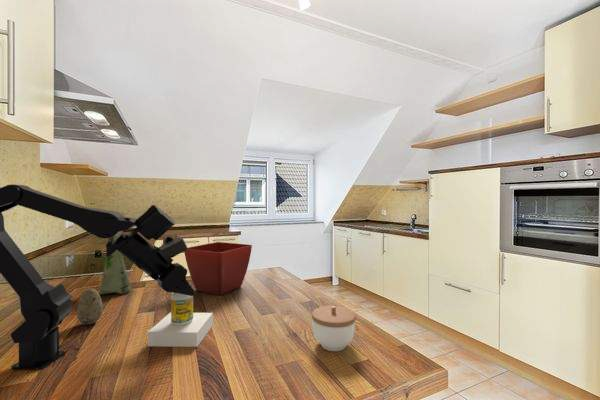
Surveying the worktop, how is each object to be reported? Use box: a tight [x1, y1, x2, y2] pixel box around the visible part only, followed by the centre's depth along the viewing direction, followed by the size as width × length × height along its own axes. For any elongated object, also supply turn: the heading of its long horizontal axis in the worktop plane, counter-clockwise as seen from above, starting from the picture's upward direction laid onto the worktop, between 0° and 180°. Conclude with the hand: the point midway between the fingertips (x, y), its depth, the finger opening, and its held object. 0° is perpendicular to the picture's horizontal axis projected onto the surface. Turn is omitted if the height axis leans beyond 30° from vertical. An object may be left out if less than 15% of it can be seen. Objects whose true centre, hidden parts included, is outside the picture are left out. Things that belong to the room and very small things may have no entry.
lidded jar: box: [311, 305, 357, 352], centre depth 71 cm, size 11×11×9 cm
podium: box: [147, 311, 214, 348], centre depth 76 cm, size 12×12×4 cm
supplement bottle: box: [170, 292, 194, 325], centre depth 76 cm, size 5×5×10 cm
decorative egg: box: [76, 287, 104, 325], centre depth 82 cm, size 6×6×10 cm
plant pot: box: [183, 241, 253, 296], centre depth 115 cm, size 19×19×17 cm
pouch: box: [98, 234, 132, 295], centre depth 109 cm, size 11×12×25 cm
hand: (187, 289), depth 77 cm, fingers open, 9 cm apart
